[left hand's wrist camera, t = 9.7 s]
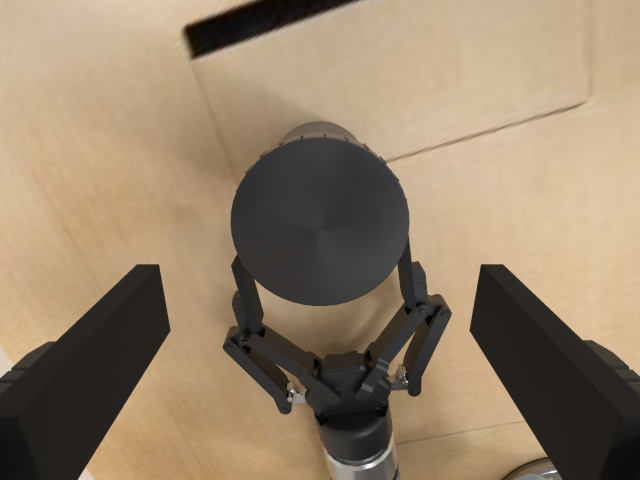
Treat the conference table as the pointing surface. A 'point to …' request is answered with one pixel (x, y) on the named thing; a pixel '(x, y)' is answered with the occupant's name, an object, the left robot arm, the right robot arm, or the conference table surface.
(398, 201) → the lid
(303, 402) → the right robot arm
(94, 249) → the conference table surface
